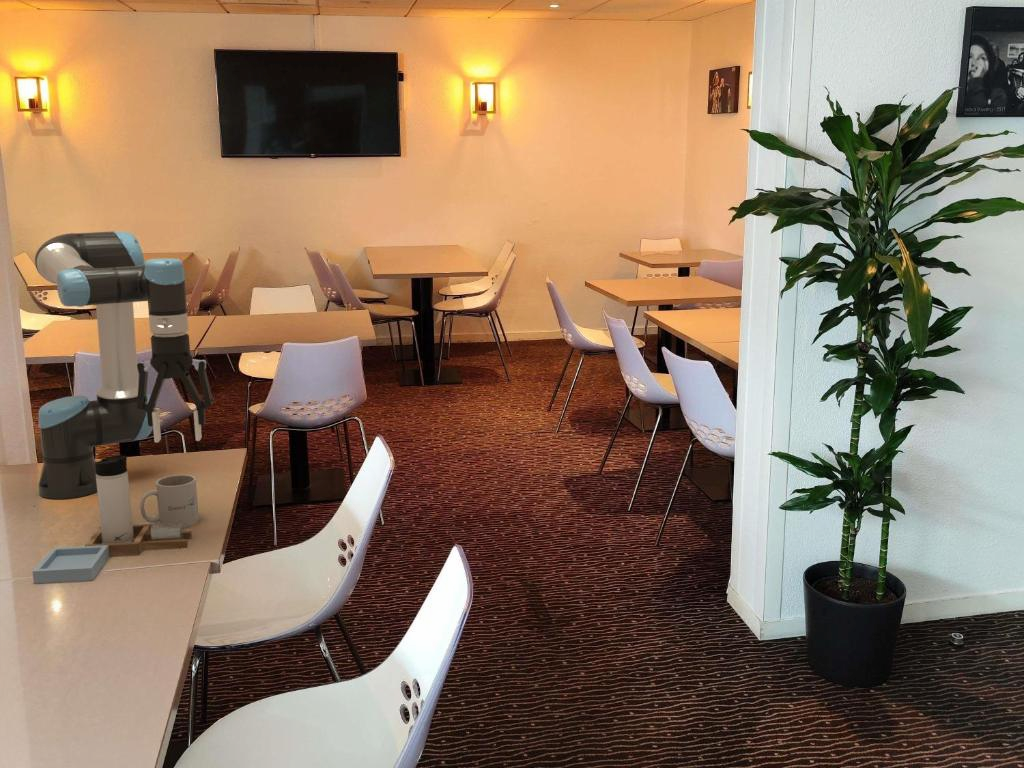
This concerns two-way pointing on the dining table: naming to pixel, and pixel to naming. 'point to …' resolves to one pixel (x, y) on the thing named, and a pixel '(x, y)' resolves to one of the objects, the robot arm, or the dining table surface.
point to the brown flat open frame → (138, 542)
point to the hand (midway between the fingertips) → (178, 439)
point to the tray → (71, 564)
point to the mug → (174, 500)
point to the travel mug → (114, 500)
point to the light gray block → (167, 531)
